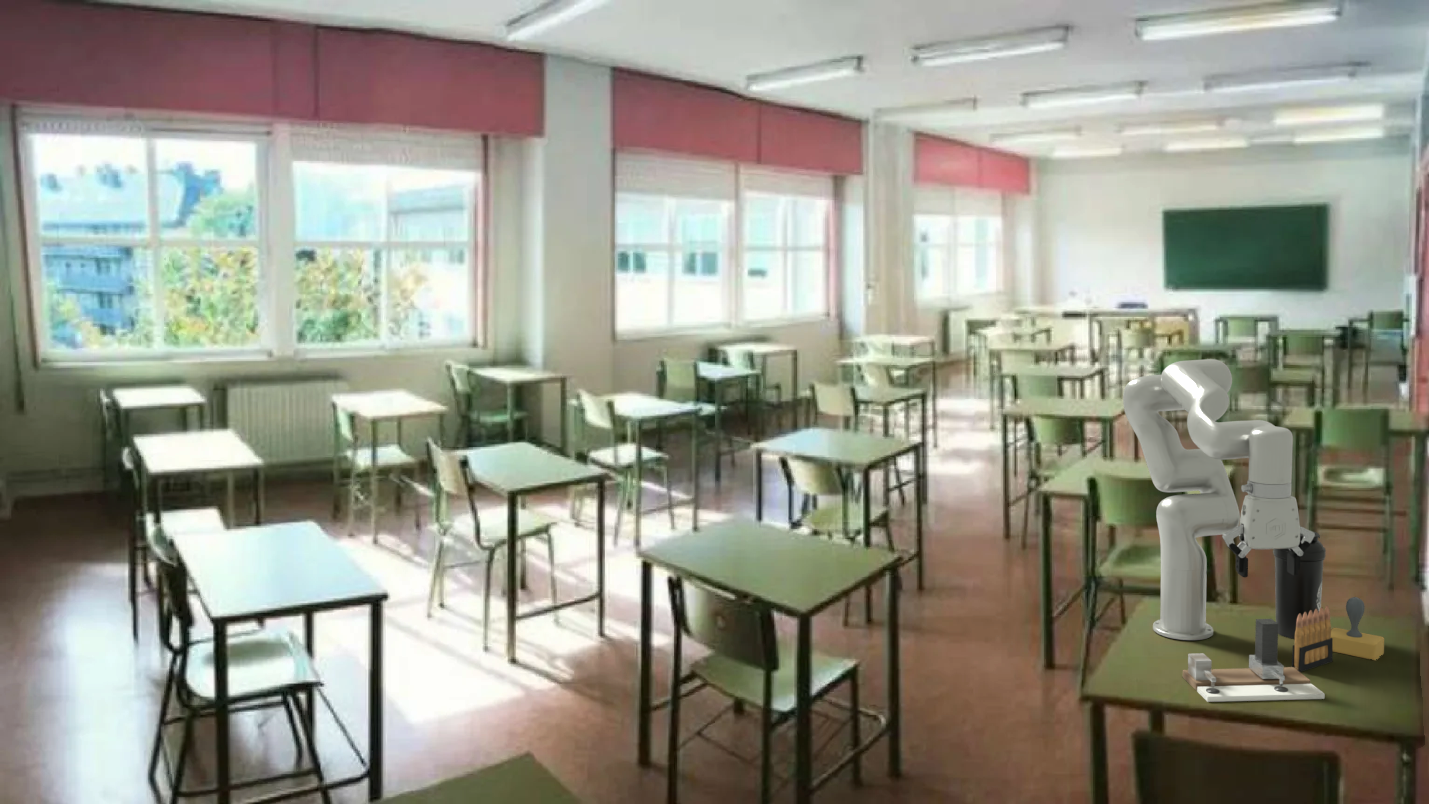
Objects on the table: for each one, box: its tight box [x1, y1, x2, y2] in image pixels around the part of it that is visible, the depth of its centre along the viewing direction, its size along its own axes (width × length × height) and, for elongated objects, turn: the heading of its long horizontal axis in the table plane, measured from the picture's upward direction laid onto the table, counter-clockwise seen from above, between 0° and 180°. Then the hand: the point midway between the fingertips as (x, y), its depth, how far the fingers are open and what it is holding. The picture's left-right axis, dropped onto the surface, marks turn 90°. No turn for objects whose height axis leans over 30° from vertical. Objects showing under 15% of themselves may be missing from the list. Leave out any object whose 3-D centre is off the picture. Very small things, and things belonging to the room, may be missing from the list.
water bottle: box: [1272, 531, 1327, 640], centre depth 243 cm, size 10×10×23 cm
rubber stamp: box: [1331, 596, 1385, 661], centre depth 232 cm, size 10×6×12 cm, turn 43°
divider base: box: [1182, 652, 1311, 692], centre depth 217 cm, size 10×22×6 cm, turn 88°
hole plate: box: [1196, 683, 1326, 703], centre depth 212 cm, size 5×22×1 cm, turn 88°
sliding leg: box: [1248, 618, 1285, 686], centre depth 216 cm, size 10×4×11 cm, turn 178°
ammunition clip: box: [1291, 605, 1334, 673], centre depth 225 cm, size 11×2×12 cm, turn 117°
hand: (1267, 574), depth 216 cm, fingers open, 9 cm apart
